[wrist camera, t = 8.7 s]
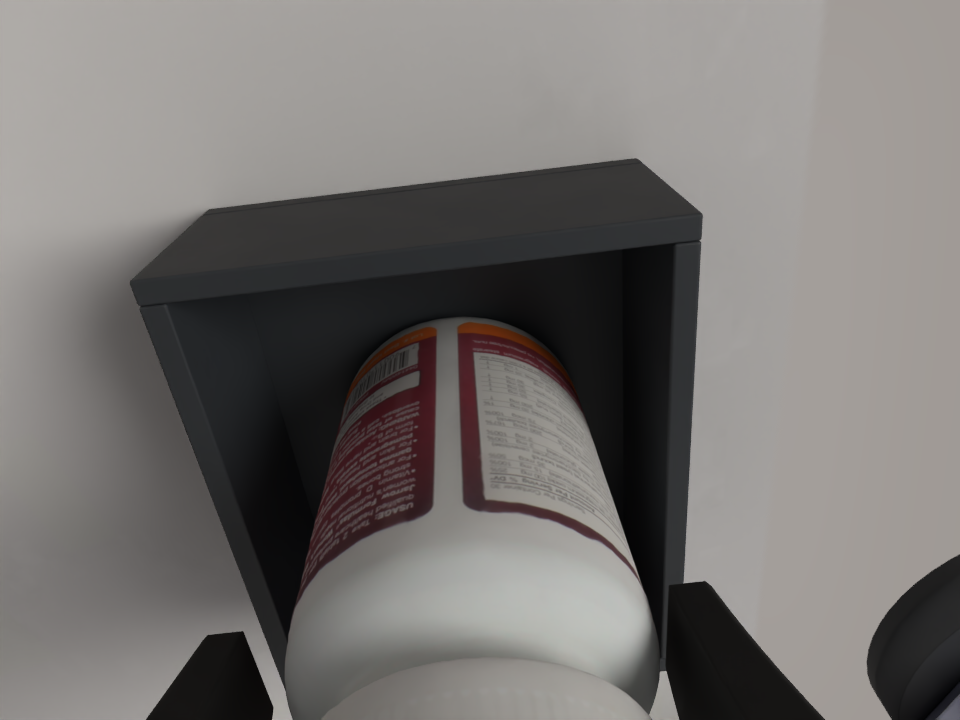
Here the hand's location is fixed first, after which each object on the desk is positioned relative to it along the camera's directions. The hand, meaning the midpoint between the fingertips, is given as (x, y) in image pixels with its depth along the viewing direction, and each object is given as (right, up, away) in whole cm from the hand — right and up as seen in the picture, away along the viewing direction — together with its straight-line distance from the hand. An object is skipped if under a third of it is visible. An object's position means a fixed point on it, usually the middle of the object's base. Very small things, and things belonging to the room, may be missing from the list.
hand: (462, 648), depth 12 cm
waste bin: (0, +4, +7) cm, 8 cm away
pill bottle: (0, +4, +7) cm, 8 cm away
